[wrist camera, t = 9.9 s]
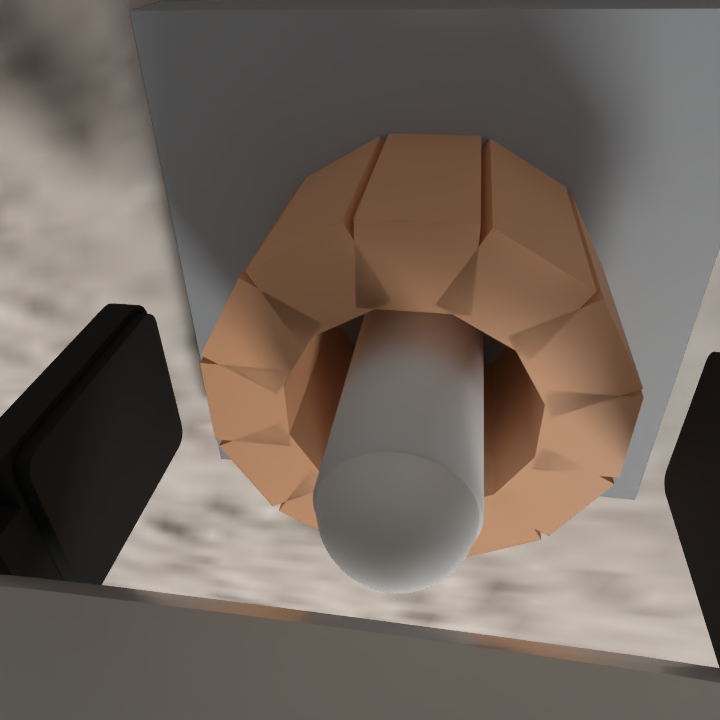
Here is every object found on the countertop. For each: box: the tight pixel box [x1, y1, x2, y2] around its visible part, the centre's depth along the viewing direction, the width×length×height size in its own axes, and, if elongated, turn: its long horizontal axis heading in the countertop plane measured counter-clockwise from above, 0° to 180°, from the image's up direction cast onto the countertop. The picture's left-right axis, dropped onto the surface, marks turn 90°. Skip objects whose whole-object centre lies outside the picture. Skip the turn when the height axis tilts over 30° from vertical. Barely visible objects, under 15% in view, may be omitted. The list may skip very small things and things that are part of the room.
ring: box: [200, 134, 644, 557], centre depth 12 cm, size 7×7×4 cm
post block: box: [129, 0, 720, 593], centre depth 11 cm, size 11×11×9 cm
